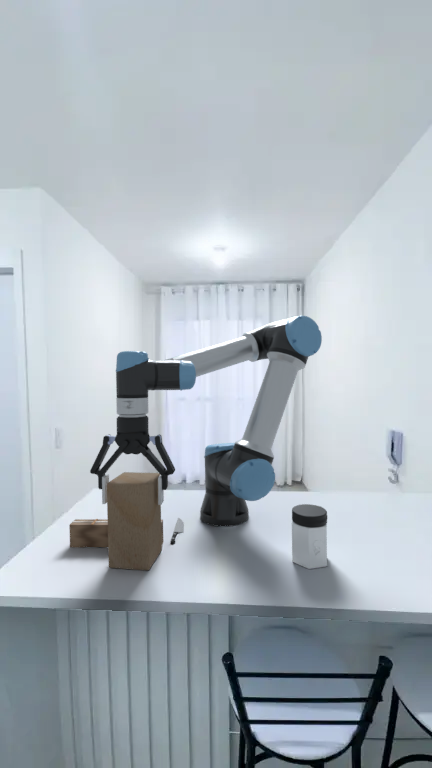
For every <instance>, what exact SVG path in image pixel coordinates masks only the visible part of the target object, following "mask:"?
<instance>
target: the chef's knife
mask: <svg viewBox="0 0 432 768" xmlns="http://www.w3.org/2000/svg"><path fill="white" fill-rule="evenodd" d="M184 530H185V523H184V520H182V519H181V518H180V517H177V520H176V522H175V526H174V529H173V532H172V536H171V539H170V544H171V545H174V544H175V543H176V537H177V535H178V534H184Z"/></svg>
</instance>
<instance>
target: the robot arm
mask: <svg viewBox="0 0 432 768" xmlns="http://www.w3.org/2000/svg"><path fill="white" fill-rule="evenodd" d="M322 338H323V337H322V331H321V330H320V327H319V325H318V323H317V322H316V321H315V320H314V319H313V318H311V317H309V316H306V315H293V316H291V317H289V318H284V319H281V320H276V321H272V322H270V323H267V324H264V325H262V326H261V327H258V328H255V329H253V330H250V331H248V332H244V333H243V334H242V335H241V337H238V338H234V339H232V340H227V341H225V342H222V343H221V342H220V343H218V344H214V345H212V346H207V347H204V348H200V349H198V350H194V351H190V352H187V353H184V354H181V355H177V356H174V357H171V358H168V359H164V360H154V359H150V358H149V354H148V352H146V351H139V350H126V351H125V350H124V351H119V353H117V354H116V365H115V366H116V367H115V383H116V386H115V388H116V389H115V390H116V398H115V399H116V402H115V403H116V414H117V415H118V416H116V435H111V434H109V433H108V434H106V435H105V436H103V439H102V445H101V448H100V450H99V452H98V453H97V455H96V457H95V459H94V462H93V464H92V466H91V468H90V470H89V473H90V474H92V475H96V476H97V480H98V481H97V482H98V484H97V485H98V486H97V488H98V489H99V490H101V498H102V499H101V504H102V505H107V483H108V482H110V474H109V473H107V472H108V471H109V470H110V468H112V466H113V465H114V464H115V462H116V461H117V460H118V459H119V457H120V456H121V455H122V454H123V453H124V454H125V455H131V454H133V455H140V454H141V455H142V456H143V457H145V458H146V460H148V462H149V463H150V464H151V465H152V467H154V469H155V470H156V471H157V473H159V474H160V476H159V477H158V505H161V506H162V505H163V503H164V501H165V499H164V498H165V496H164V495H165V493H164V491H167V489H168V487H169V483H168V482H169V477H168V476H171V475H173V474H174V473H175V471H176V468H175V466H174V463H173V462H172V459H171V458H170V456H169V453H168V452H167V450H166V446H165V445H164V443H163V437H162V436H163V435H162V434H157V435H150V433H149V416H148V415H147V414H149V391H185V390H192V389H193V388H194V386H195V384H196V379H197V377H200V376H203V375H206V374H209V373H213V372H216V371H219V370H222V369H227V368H228V367H232V366H235V365H238V364H241V363H244V362H247V361H249V362H251V363H254V362H257V361H258V362H259V361H262V360H268V361H269V363H268V365H267V368H266V371H265V373H264V377H263V379H262V382H261V384H260V388H259V391H258V394H257V396H256V399H255V402H254V406H253V407H252V410H251V413H250V415H249V419H248V421H247V424H246V427H245V430H244V432H243V436H242V438H241V439H239V440H237V441H235V442H225V443H224V442H223V443H222V442H221V443H213V444H209V445H207V446H205V449H204V456H203V458H204V478H205V479H204V481H205V483H204V484H205V491H204V492H205V494H204V496H203V500H202V504H201V507H200V510H199V512H200V513H199V515H200V520H201V521H202V522H203V523H205V524H207V525H210V526H214V527H233V526H239V525H241V524H243V523H245V522H247V521H248V519H249V516H250V515H249V514H250V513H249V508H248V505H247V504H248V503H247V502H257V501H259V500H261V499H263V498H265V497H266V496H267V495H268V494H270V492H271V490H272V489H273V487H274V485H275V482H276V473H275V469H274V467H273V462H274V459H275V455H274V453H273V452H272V448H273V445H274V442H275V439H276V436H277V433H278V431H279V427H280V424H281V422H282V419H283V415H284V412H285V411H286V407H287V404H288V400H289V398H290V395H291V392H292V390H293V388H294V387H293V386H294V384H295V380H296V378H297V374H298V373H299V371H301V370H302V369H304V368H306V365H307V363H308V359H309V357H311V356H314V355H315V354H317V353H318V352H319V350H320V348H321V346H322V341H323V340H322ZM114 442H115V443H116V445H117V446H118V448H117V449H116V450H115V451H114V453H113V454H112V455H111V456H110V458H109V459H108V460H107V461H106V462H105V463H104V465H103V466H102V464H103V461H104V460H105V458H106V455H107V454H108V451H109V449H110V448H111V445H112V444H114ZM151 442H152V444H153V446H155V449H156V450H157V452H158V454H159V456H160V459H161V460H162V462H163V464H164V465H163V464H162V462H161V461H160V460H159V458H158V457H157V456H156V454H154V453H153V452H152V449H151V448H150V447H149V446H148V445H149V443H151ZM101 466H102V467H101ZM246 501H247V502H246Z"/></svg>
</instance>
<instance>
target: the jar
mask: <svg viewBox="0 0 432 768" xmlns="http://www.w3.org/2000/svg"><path fill="white" fill-rule="evenodd" d="M291 520H292V521H291V551H292V552H291V555H292V556H291V561H292V563H294V564H296V565H299V566H301V567H302V568H305V569H308V570H311V569H318V568H325V567H327V566H328V537H327V535H328V532H327V531H328V530H327V529H328V528H327V527H328V526H327V524H328V511H327V509H325V508H324V507H322V506H320V505H316V504H309V503H308V504H307V503H306V504H305V503H304V504H303V503H302V504H298V505H295V506H293V507H292V509H291Z"/></svg>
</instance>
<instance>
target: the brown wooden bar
mask: <svg viewBox="0 0 432 768" xmlns="http://www.w3.org/2000/svg"><path fill="white" fill-rule="evenodd" d="M68 525H69V548H85V547H108V518H106V519H105V518H104V519H101V518H100V519H99V518H95V519H92V518H91V519H82V518H81V519H78V518H75V519H74V520H73V521H71V522H70V524H68ZM161 540H162V545H163V543H164V519H161Z"/></svg>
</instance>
